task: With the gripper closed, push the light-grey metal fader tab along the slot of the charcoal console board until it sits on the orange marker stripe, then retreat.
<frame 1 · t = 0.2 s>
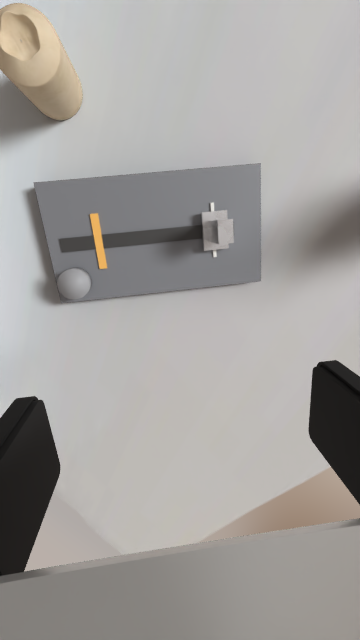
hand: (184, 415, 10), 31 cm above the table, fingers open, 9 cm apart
console: (156, 235, 37), on the table
candle: (57, 92, 32), on the table
fader: (219, 231, 33), point 5 cm above the table, slide at 0.0 cm
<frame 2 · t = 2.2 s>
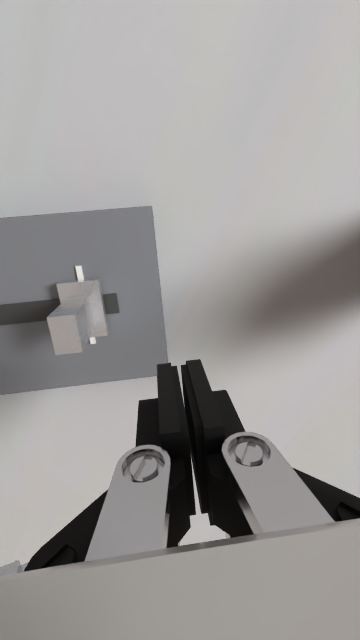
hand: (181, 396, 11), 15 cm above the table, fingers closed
console: (7, 308, 25), on the table
fader: (76, 319, 20), point 5 cm above the table, slide at 0.0 cm
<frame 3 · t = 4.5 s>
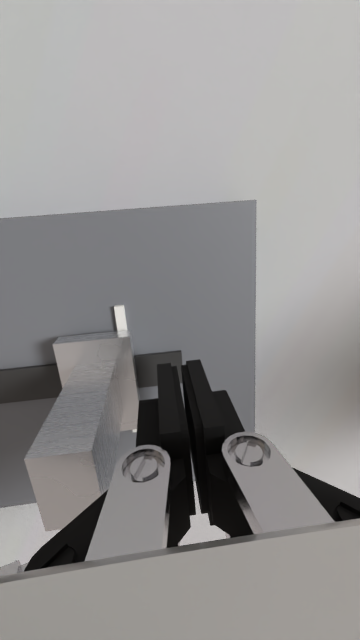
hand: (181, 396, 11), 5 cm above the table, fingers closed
fader: (90, 420, 10), point 5 cm above the table, slide at 1.1 cm, touching gripper
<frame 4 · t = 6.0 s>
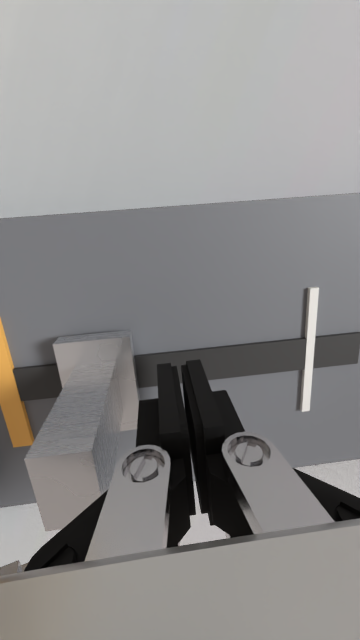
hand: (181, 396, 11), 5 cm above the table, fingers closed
console: (161, 350, 15), on the table
fader: (90, 420, 10), point 5 cm above the table, slide at 9.7 cm, touching gripper
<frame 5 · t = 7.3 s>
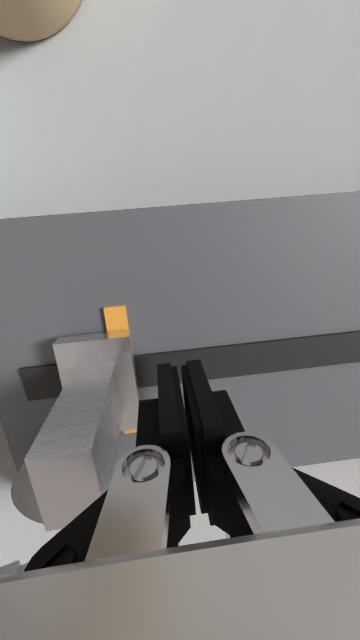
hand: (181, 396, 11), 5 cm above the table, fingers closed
console: (257, 339, 16), on the table
fader: (90, 420, 10), point 5 cm above the table, slide at 14.9 cm, touching gripper
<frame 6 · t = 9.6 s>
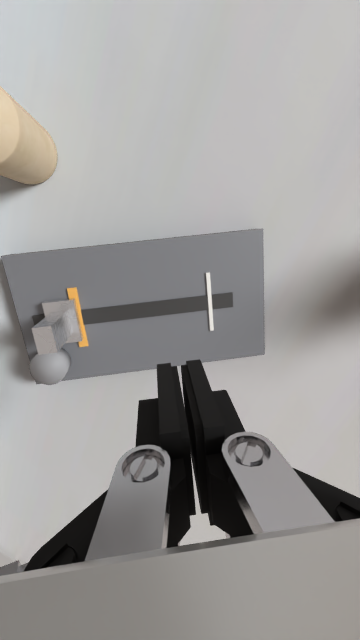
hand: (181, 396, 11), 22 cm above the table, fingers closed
console: (145, 305, 33), on the table
candle: (29, 154, 28), on the table
fader: (55, 329, 27), point 5 cm above the table, slide at 15.3 cm
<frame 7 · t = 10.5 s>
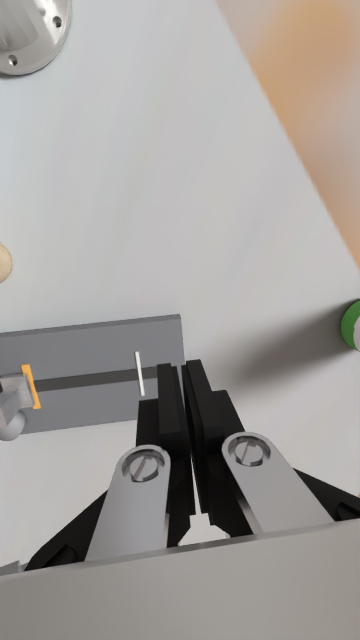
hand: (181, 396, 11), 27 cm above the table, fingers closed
console: (89, 372, 40), on the table
fader: (9, 402, 34), point 5 cm above the table, slide at 15.3 cm
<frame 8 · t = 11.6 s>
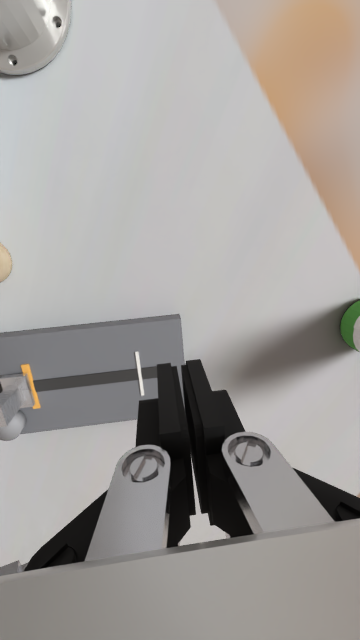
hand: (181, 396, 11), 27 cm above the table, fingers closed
console: (89, 372, 40), on the table
fader: (8, 402, 34), point 5 cm above the table, slide at 15.3 cm
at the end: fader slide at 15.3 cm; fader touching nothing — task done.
